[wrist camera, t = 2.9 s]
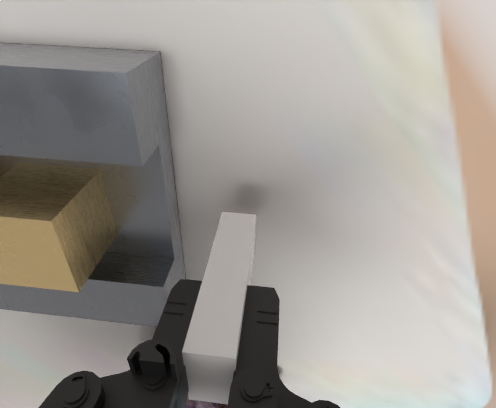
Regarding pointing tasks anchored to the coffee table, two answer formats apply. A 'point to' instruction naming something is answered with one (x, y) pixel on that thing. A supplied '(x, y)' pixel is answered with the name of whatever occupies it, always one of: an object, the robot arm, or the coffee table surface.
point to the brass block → (53, 225)
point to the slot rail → (99, 157)
